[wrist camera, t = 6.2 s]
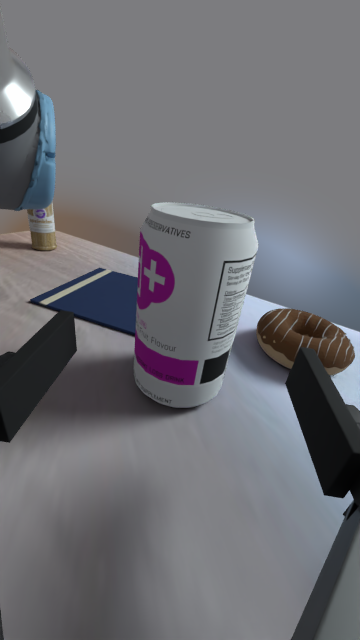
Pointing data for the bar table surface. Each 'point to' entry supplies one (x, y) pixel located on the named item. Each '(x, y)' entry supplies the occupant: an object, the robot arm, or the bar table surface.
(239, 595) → the bar table surface
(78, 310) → the tea towel
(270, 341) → the donut
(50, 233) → the sprinkles bottle
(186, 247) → the white soda can
